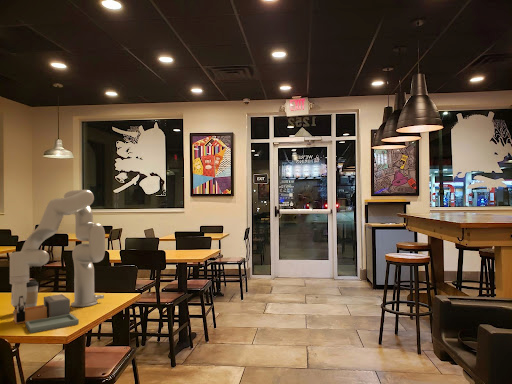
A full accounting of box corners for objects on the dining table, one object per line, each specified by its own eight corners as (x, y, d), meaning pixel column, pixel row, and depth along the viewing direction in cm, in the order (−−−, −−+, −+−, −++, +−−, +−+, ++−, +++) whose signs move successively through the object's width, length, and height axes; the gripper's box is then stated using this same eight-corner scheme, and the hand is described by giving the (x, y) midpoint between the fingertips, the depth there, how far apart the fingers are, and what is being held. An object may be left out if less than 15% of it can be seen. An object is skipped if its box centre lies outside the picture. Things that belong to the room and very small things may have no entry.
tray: (71, 318, 177) (71, 313, 177) (78, 324, 166) (78, 319, 167) (25, 326, 166) (25, 321, 166) (30, 333, 155) (30, 328, 155)
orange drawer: (43, 315, 182) (43, 304, 183) (46, 318, 177) (46, 307, 177) (12, 321, 175) (12, 309, 175) (14, 324, 169) (14, 312, 169)
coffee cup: (41, 310, 192) (41, 280, 193) (21, 314, 185) (21, 283, 186) (34, 308, 198) (34, 278, 199) (14, 311, 191) (14, 281, 192)
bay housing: (69, 317, 179) (69, 298, 179) (50, 320, 174) (50, 301, 174) (61, 310, 191) (61, 293, 192) (43, 313, 186) (43, 296, 187)
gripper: (7, 278, 179) (7, 317, 178) (12, 283, 165) (12, 325, 164) (26, 276, 183) (26, 314, 182) (32, 280, 170) (32, 322, 169)
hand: (19, 319), depth 173 cm, fingers closed on orange drawer, 7 cm apart
